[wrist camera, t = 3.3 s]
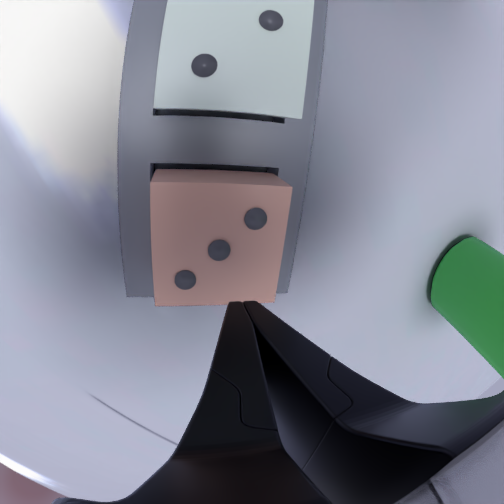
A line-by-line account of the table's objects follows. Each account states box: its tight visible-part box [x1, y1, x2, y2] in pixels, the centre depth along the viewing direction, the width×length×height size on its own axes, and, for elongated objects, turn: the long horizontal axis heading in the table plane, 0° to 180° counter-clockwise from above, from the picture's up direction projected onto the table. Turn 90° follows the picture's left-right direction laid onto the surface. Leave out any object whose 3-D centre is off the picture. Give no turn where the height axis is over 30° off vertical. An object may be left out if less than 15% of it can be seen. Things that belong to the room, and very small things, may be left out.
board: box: [118, 0, 328, 297], centre depth 13 cm, size 10×27×2 cm, turn 174°
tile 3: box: [150, 169, 293, 306], centre depth 15 cm, size 6×6×3 cm
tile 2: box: [153, 0, 314, 119], centre depth 11 cm, size 6×6×3 cm
